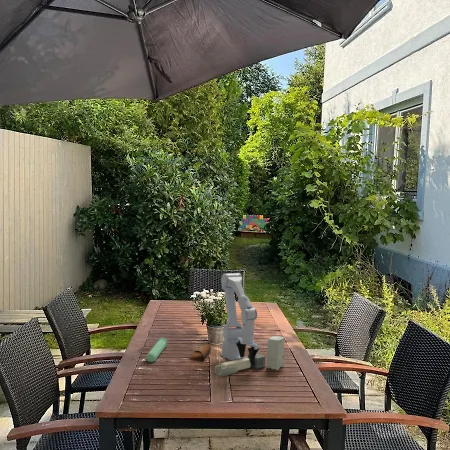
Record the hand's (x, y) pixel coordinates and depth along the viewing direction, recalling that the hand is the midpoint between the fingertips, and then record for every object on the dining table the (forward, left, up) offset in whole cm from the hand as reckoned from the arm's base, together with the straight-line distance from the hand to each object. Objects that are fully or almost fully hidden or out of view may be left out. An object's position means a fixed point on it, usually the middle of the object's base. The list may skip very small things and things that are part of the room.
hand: (246, 359), depth 238 cm
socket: (0, +6, -4) cm, 8 cm away
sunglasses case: (-28, -9, -5) cm, 29 cm away
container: (-39, -29, -5) cm, 49 cm away
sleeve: (0, -13, -4) cm, 13 cm away
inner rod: (0, -7, -4) cm, 8 cm away
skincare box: (+6, +13, -5) cm, 16 cm away
